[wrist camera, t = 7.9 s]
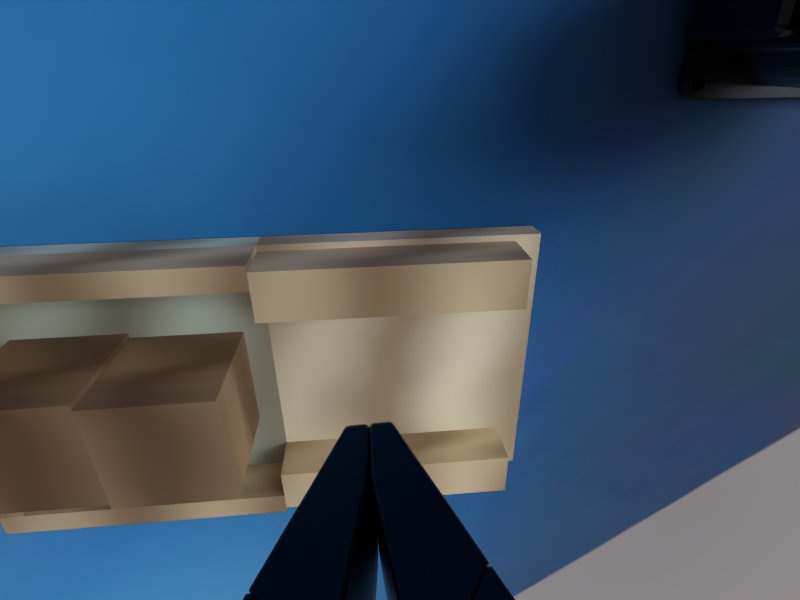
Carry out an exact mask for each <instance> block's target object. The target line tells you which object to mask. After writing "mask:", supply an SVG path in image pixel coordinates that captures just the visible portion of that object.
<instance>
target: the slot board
mask: <svg viewBox="0 0 800 600" xmlns="http://www.w3.org/2000/svg"><path fill="white" fill-rule="evenodd" d="M540 239H541V233H540V232H539V231H538V230H537V229H536V228H535V227H534V226H511V227H486V228H461V229H436V230H411V231H386V232H361V233H336V234H311V235H285V236H260V237H235V238H210V239H185V240H160V241H135V242H110V243H84V244H59V245H34V246H9V247H0V348H1V347H2V346H3V345H4V344H6V343H7V342H8V341H9V340H22V339H40V338H57V337H75V336H93V335H111V334H128V335H129V338H139V337H156V336H174V335H191V334H209V333H226V332H244V336H245V342H246V347H247V352H248V357H249V363H250V368H251V373H252V379H253V384H254V389H255V394H256V400H257V405H258V410H259V416H260V419H259V423H258V427H257V430H256V434H255V438H254V442H253V446H252V450H251V454H250V457H249V461H248V465H247V469H246V473H245V477H244V481H243V484H242V488H241V492H240V496H239V499H233V500H220V501H208V502H196V503H184V504H171V505H159V506H147V507H134V508H122V509H111V507H110V505H107V506H95V507H82V508H70V509H58V510H45V511H33V512H20V513H8V514H0V523H1V525H2V527H3V529H4V530H5V532H6V534H15V533H27V532H40V531H52V530H64V529H77V528H89V527H101V526H114V525H126V524H138V523H151V522H163V521H175V520H188V519H200V518H212V517H225V516H237V515H249V514H262V513H274V512H286V511H287V509H288V507H298V506H299V504H300V503H301V501H302V499H303V497H304V496H305V494H306V492H307V491H308V489H309V487H310V486H311V484H312V482H313V481H314V479H315V477H316V475H317V474H318V472H319V470H320V469H321V467H322V465H323V464H324V462H325V460H326V459H327V457H328V455H329V454H330V452H331V450H332V448H333V447H334V445H335V443H336V442H337V440H338V438H339V437H340V435H341V433H342V432H343V430H344V428H345V427H347V426H349V425H359V424H367V425H368V426H369V427H370V425H371V424H372V423H379V422H392V423H393V424H394V425H395V426H396V428H397V429H398V431H399V432H400V434H401V435H402V437H403V438H404V440H405V441H406V442H407V444H408V445H409V447H410V448H411V450H412V451H413V453H414V454H415V456H416V457H417V458H418V460H419V461H420V463H421V464H422V466H423V467H424V469H425V470H426V472H427V473H428V475H429V476H430V477H431V479H432V480H433V482H434V483H435V485H436V486H437V488H438V489H439V491H440V492H441V494H442V495H449V494H461V493H474V492H486V491H499V490H505V483H506V475H507V466H508V461H510V460H513V452H514V444H515V436H516V428H517V420H518V413H519V405H520V397H521V389H522V381H523V373H524V365H525V357H526V349H527V341H528V333H529V326H530V318H531V310H532V302H533V294H534V286H535V278H536V270H537V262H538V254H539V246H540Z"/></svg>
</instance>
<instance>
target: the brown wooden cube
mask: <svg viewBox="0 0 800 600" xmlns="http://www.w3.org/2000/svg"><path fill="white" fill-rule="evenodd" d="M128 339H129V335H128V334H111V335H93V336H75V337H57V338H40V339H22V340H9V341H8V342H7V343H6V344H4V345H3V346H2V347H1V348H0V514H8V513H20V512H33V511H45V510H58V509H70V508H82V507H95V506H107V505H110V504H109V502H108V499H107V497H106V494H105V492H104V490H103V487H102V485H101V482H100V480H99V478H98V475H97V473H96V470H95V468H94V465H93V463H92V461H91V458H90V456H89V453H88V451H87V448H86V446H85V444H84V441H83V439H82V436H81V434H80V432H79V429H78V427H77V424H76V422H75V419H74V417H73V415H72V412H71V411H72V409H73V408H74V407H75V406H76V404H77V403H78V402H79V401H80V399H81V398H82V397H83V396H84V394H85V393H86V392H87V391H88V389H89V388H90V387H91V386H92V384H93V383H94V382H95V381H96V379H97V378H98V377H99V376H100V374H101V373H102V372H103V371H104V369H105V368H106V367H107V366H108V364H109V363H110V362H111V361H112V359H113V358H114V357H115V356H116V354H117V353H118V352H119V351H120V349H121V348H122V347H123V346H124V344H125V343H126V342H127V341H128Z"/></svg>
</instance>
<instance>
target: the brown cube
mask: <svg viewBox="0 0 800 600" xmlns="http://www.w3.org/2000/svg"><path fill="white" fill-rule="evenodd" d="M71 412H72V415H73V417H74V419H75V422H76V424H77V427H78V429H79V432H80V434H81V436H82V439H83V441H84V444H85V446H86V448H87V451H88V453H89V456H90V458H91V461H92V463H93V465H94V468H95V470H96V473H97V475H98V478H99V480H100V482H101V485H102V487H103V490H104V492H105V494H106V497H107V499H108V502H109V504H110V507H111V509H122V508H134V507H147V506H159V505H171V504H184V503H196V502H208V501H220V500H233V499H239V496H240V492H241V488H242V484H243V481H244V477H245V473H246V469H247V465H248V461H249V457H250V454H251V450H252V446H253V442H254V438H255V434H256V430H257V427H258V423H259V419H260V416H259V410H258V405H257V400H256V394H255V389H254V384H253V379H252V373H251V368H250V363H249V357H248V352H247V347H246V342H245V336H244V332H226V333H209V334H191V335H174V336H156V337H139V338H129V339H128V341H127V342H126V343H125V344H124V346H123V347H122V348H121V349H120V351H119V352H118V353H117V354H116V356H115V357H114V358H113V359H112V361H111V362H110V363H109V364H108V366H107V367H106V368H105V369H104V371H103V372H102V373H101V374H100V376H99V377H98V378H97V379H96V381H95V382H94V383H93V384H92V386H91V387H90V388H89V389H88V391H87V392H86V393H85V394H84V396H83V397H82V398H81V399H80V401H79V402H78V403H77V404H76V406H75V407H74V408H73V409H72V411H71Z"/></svg>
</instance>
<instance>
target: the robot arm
mask: <svg viewBox="0 0 800 600" xmlns="http://www.w3.org/2000/svg"><path fill="white" fill-rule="evenodd" d="M687 35H688V40H687V45H686V49H685V54H684V58H683V62H682V67H681V71H680V76H679V80H678V86H677V90H678V93H679V95H680V96H681V97H683V98H687V99H733V98H781V97H800V0H694V3H693V8H692V12H691V17H690V21H689V26H688V30H687ZM695 78H697V85H696V88H694V89H693V90H691V83H692V81H693V80H694V79H695ZM378 546H379V554H380V561H381V567H382V573H383V579H384V584H385V590H386V595H387V600H515V599H514V597H513V596H512V595H511V593H510V592H509V591H508V589H507V588H506V586H505V585H504V584H503V582H502V581H501V579H500V578H499V576H498V575H497V573H496V572H495V570H494V569H493V568H492V567H491V566H490V567H489V562H488V561H487V559H486V558H485V556H484V555H483V553H482V552H481V550H480V549H479V547H478V546H477V545H476V543H475V542H474V540H473V539H472V537H471V536H470V534H469V533H468V531H467V530H466V529H465V527H464V526H463V524H462V523H461V521H460V520H459V518H458V517H457V515H456V514H455V512H454V511H453V510H452V508H451V507H450V505H449V504H448V502H447V501H446V499H445V498H444V496H443V495H442V494H441V492H440V491H439V489H438V488H437V486H436V485H435V483H434V482H433V480H432V479H431V477H430V476H429V475H428V473H427V472H426V470H425V469H424V467H423V466H422V464H421V463H420V461H419V460H418V458H417V457H416V456H415V454H414V453H413V451H412V450H411V448H410V447H409V445H408V444H407V442H406V441H405V440H404V438H403V437H402V435H401V434H400V432H399V431H398V429H397V428H396V426H395V425H394V424H393V423H392V422H379V423H372V424H371V425H370V427H369V426H368V425H367V424H359V425H349V426H347V427H345V428H344V430H343V432H342V433H341V435H340V437H339V438H338V440H337V442H336V443H335V445H334V447H333V448H332V450H331V452H330V454H329V455H328V457H327V459H326V460H325V462H324V464H323V465H322V467H321V469H320V470H319V472H318V474H317V475H316V477H315V479H314V481H313V482H312V484H311V486H310V487H309V489H308V491H307V492H306V494H305V496H304V497H303V499H302V501H301V503H300V504H299V506H298V508H297V509H296V511H295V513H294V514H293V516H292V518H291V519H290V521H289V523H288V525H287V526H286V528H285V530H284V531H283V533H282V535H281V536H280V538H279V540H278V541H277V543H276V545H275V546H274V548H273V550H272V552H271V553H270V555H269V557H268V558H267V560H266V562H265V563H264V565H263V567H262V568H261V570H260V572H259V574H258V575H257V577H256V579H255V580H254V582H253V584H252V585H251V587H250V589H249V592H250V594H246V595H245V597H244V598H243V600H376V587H377V571H378Z"/></svg>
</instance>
